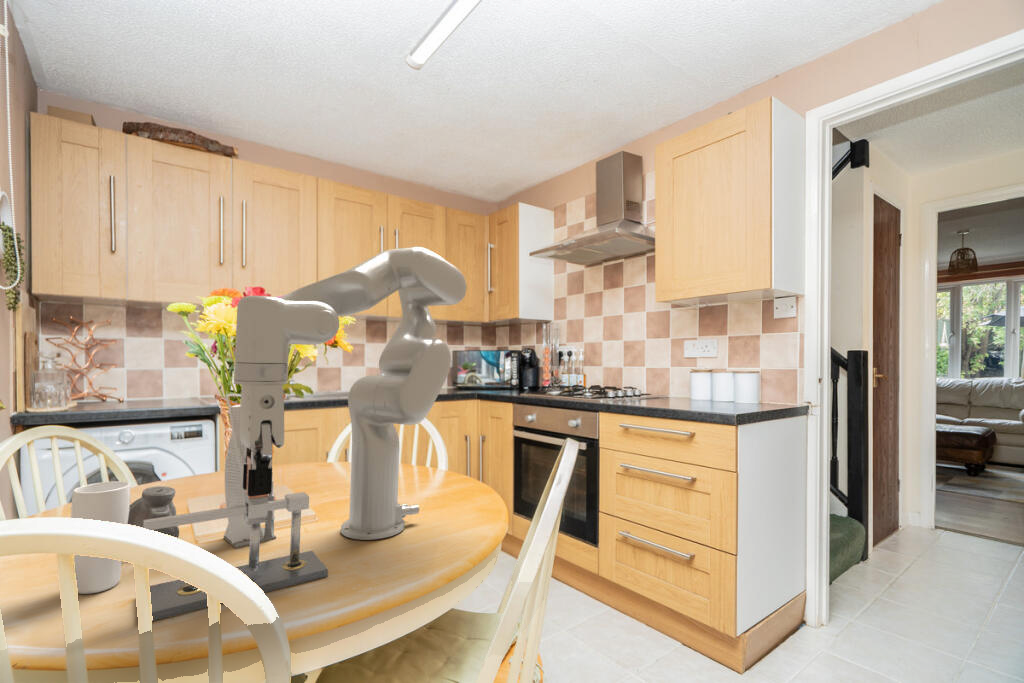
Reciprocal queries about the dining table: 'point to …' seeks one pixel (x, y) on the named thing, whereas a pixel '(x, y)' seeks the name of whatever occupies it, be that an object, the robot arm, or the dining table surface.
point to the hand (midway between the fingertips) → (256, 490)
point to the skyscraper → (240, 487)
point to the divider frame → (290, 502)
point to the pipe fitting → (154, 508)
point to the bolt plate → (268, 575)
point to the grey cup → (106, 506)
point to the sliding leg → (255, 520)
